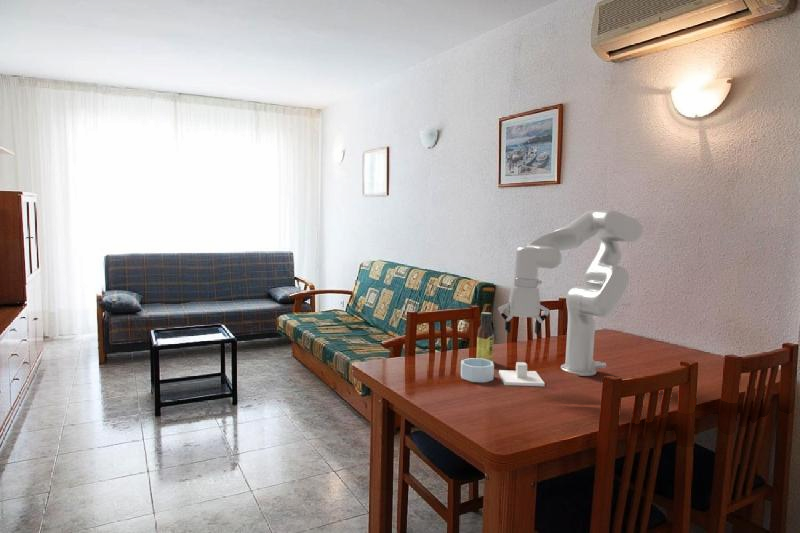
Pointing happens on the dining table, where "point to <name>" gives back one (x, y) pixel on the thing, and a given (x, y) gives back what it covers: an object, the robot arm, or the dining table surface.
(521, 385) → the mat
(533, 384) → the lid
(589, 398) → the dining table surface
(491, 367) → the bowl
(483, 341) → the sauce bottle
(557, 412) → the dining table surface
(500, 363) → the dining table surface
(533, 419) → the dining table surface
